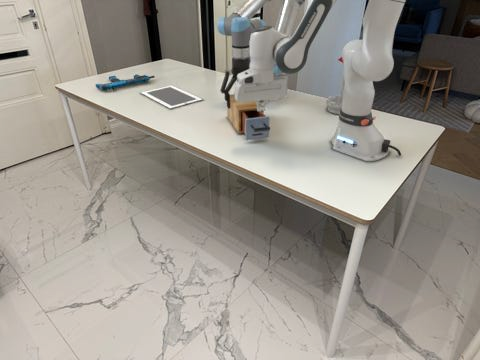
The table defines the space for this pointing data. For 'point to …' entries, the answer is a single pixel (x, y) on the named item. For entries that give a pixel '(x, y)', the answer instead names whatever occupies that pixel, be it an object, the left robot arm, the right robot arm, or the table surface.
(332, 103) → the flag stand
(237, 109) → the cabinet
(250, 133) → the drawer
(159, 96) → the tablet
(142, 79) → the submachine gun
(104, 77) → the table surface
